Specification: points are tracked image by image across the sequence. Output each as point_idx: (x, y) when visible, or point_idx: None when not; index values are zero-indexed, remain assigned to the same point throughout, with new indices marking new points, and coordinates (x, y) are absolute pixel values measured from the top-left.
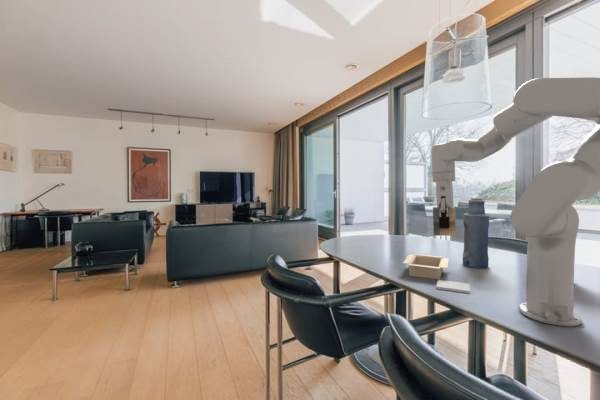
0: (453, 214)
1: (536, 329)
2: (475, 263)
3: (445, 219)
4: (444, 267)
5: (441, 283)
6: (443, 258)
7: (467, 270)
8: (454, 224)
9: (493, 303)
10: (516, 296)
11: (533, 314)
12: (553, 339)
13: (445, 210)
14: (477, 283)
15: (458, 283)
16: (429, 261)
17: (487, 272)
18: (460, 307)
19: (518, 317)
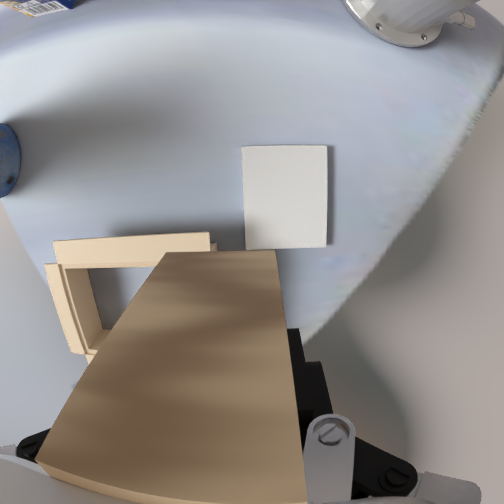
0: (292, 404)
1: (469, 53)
2: (11, 155)
3: (329, 413)
4: (207, 244)
5: (287, 234)
6: (66, 260)
7: (55, 171)
8: (282, 306)
9: (378, 92)
10: (280, 24)
11: (432, 33)
12: (487, 46)
13: (412, 491)
14: (194, 122)
15: (258, 181)
16: (82, 300)
17: (50, 112)
18: (439, 177)
19: (435, 62)
